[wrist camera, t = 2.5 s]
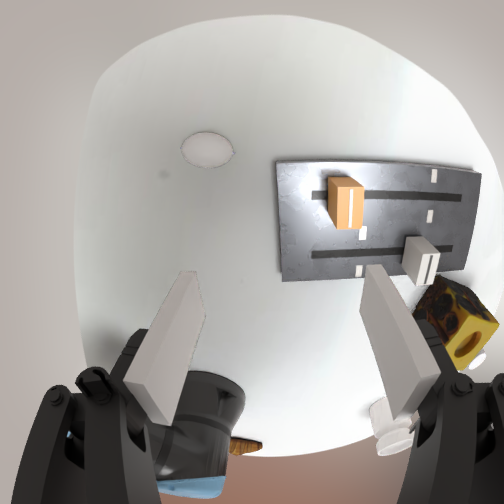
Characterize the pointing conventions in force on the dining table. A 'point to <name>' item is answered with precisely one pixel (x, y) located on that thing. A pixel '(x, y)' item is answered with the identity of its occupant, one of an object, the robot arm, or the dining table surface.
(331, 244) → the console
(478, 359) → the supplement bottle
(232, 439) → the croissant
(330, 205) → the fader
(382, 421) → the vase
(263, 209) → the dining table surface
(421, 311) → the candle
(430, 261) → the fader
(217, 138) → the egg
